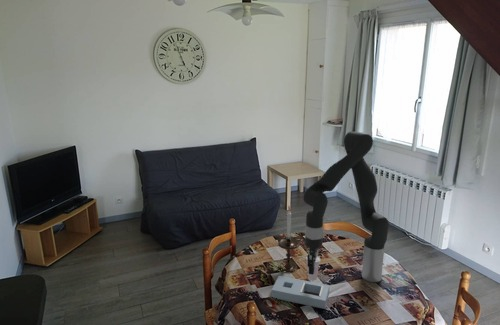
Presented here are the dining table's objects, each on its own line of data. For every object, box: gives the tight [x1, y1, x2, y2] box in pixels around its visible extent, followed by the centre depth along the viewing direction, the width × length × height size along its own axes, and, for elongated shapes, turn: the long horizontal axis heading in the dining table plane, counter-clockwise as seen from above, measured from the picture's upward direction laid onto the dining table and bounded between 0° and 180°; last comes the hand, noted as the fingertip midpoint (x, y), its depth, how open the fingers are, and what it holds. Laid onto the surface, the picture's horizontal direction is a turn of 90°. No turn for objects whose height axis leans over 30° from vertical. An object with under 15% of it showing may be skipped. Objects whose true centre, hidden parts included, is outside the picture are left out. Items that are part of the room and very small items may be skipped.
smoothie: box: [305, 256, 321, 281], centre depth 151 cm, size 6×6×14 cm
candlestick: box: [277, 205, 300, 273], centre depth 175 cm, size 11×11×35 cm
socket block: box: [271, 275, 331, 310], centre depth 156 cm, size 12×24×4 cm, turn 70°
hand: (312, 269), depth 151 cm, fingers closed on smoothie, 6 cm apart
